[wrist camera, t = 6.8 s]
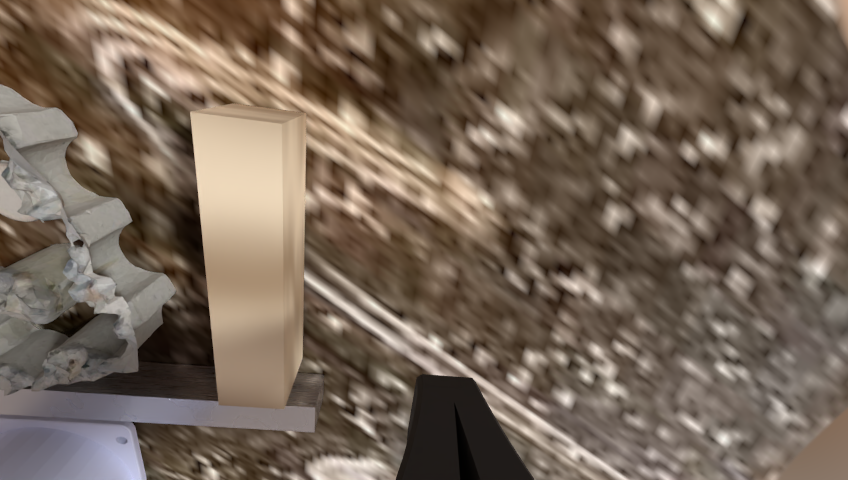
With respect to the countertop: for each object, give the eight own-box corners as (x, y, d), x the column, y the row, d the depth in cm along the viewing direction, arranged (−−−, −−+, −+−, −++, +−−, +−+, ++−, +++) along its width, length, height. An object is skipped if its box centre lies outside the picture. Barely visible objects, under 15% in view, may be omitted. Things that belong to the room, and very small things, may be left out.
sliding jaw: (302, 357, 18) (284, 409, 15) (247, 353, 18) (218, 405, 15) (306, 113, 14) (281, 123, 11) (233, 103, 14) (190, 112, 11)
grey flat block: (322, 397, 19) (309, 452, 17) (-81, 371, 18) (-171, 427, 15) (335, 116, 14) (318, 128, 11) (-241, 39, 12) (-425, 31, 10)
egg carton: (-140, 113, 13) (-351, 129, 10) (64, 64, 13) (-73, 61, 9) (42, 354, 18) (-56, 430, 14) (200, 321, 17) (143, 390, 14)
